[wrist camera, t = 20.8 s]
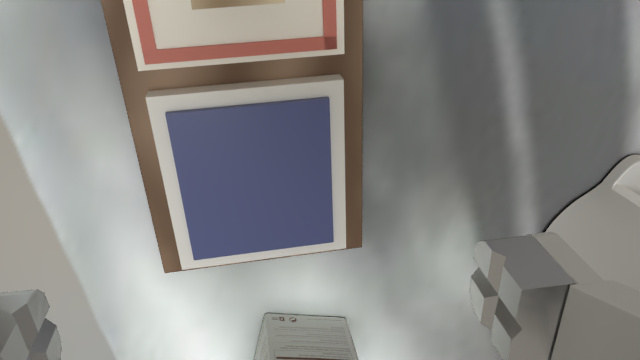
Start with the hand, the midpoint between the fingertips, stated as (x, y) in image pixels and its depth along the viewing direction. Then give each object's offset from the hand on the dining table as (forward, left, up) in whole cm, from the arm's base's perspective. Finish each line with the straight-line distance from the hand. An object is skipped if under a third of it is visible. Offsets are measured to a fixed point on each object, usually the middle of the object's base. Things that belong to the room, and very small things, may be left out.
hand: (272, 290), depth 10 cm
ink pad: (0, +10, -25) cm, 27 cm away
